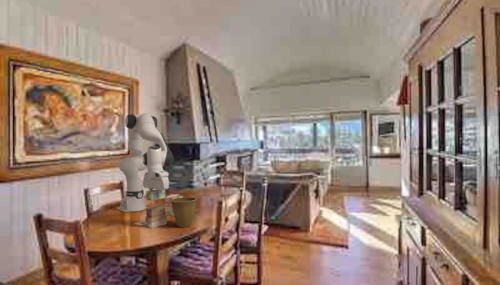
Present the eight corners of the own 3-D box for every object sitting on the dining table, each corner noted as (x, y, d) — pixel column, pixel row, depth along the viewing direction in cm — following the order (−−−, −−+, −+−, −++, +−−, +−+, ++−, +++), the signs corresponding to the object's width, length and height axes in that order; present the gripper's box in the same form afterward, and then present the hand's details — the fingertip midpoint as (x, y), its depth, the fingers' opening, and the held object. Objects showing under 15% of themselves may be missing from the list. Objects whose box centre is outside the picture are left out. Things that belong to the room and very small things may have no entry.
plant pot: (201, 223, 195) (201, 197, 194) (187, 230, 181) (187, 202, 181) (181, 221, 201) (181, 196, 201) (166, 227, 187) (165, 200, 187)
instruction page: (133, 223, 197) (133, 223, 197) (146, 220, 204) (146, 220, 204) (140, 225, 193) (140, 225, 193) (153, 222, 200) (153, 221, 200)
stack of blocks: (175, 208, 239) (175, 191, 239) (183, 208, 238) (183, 191, 238) (164, 215, 218) (164, 197, 218) (173, 215, 217) (173, 197, 217)
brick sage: (146, 199, 190) (146, 191, 190) (160, 196, 198) (159, 188, 198) (151, 200, 187) (151, 192, 187) (165, 197, 195) (165, 189, 195)
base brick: (145, 226, 190) (145, 216, 190) (160, 222, 199) (160, 212, 199) (151, 228, 187) (151, 218, 187) (166, 223, 196) (166, 214, 196)
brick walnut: (146, 216, 190) (146, 208, 190) (160, 213, 198) (159, 205, 198) (151, 217, 187) (151, 209, 187) (165, 214, 196) (165, 206, 195)
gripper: (140, 172, 196) (140, 195, 196) (162, 174, 184) (162, 198, 184) (148, 171, 201) (149, 193, 201) (170, 173, 189) (171, 196, 189)
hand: (155, 196), depth 193 cm, fingers closed on brick sage, 5 cm apart
